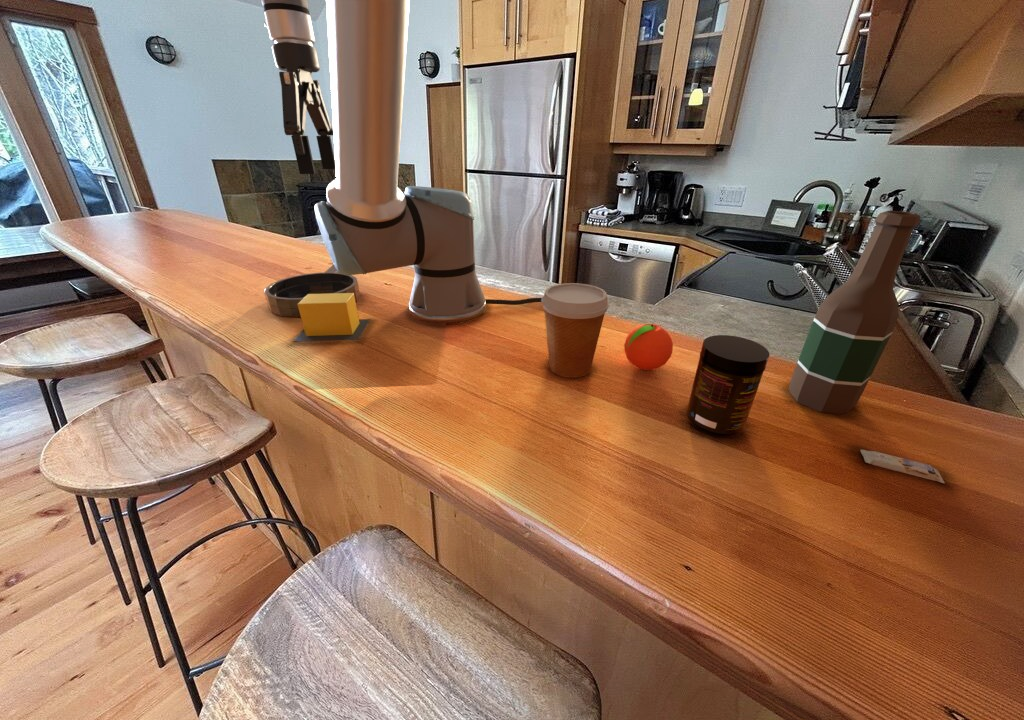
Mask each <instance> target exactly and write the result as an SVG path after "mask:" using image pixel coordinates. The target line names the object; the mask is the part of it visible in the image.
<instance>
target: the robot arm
mask: <svg viewBox="0 0 1024 720" xmlns="http://www.w3.org/2000/svg"><path fill="white" fill-rule="evenodd" d="M410 1H411V0H325V5H326V24H327V40H328V41H327V42H328V59H329V73H330V90H331V91H330V92H331V93H330V94H331V109H332V111H331V112H332V123H331V120H330V116H329V113H328V110H327V107H326V104H325V99H324V98H323V94H322V90H321V85H320V82H319V81H320V80H318V79H313V76H312V74H313V73H318V72H319V71H320V69H321V67H320V61H319V57H318V51H317V49H316V47H315V46H314V45H315V44H316V39H315V33H314V28H313V24H312V17H311V14H310V9H309V2H308V0H261V4H262V8H263V13H264V14H263V15H264V17H265V21H264V22H263V24H264V27H265V28H266V29H267V30H268V35H269V39H270V40H271V41H272V43H273V42H274V43H273V44H272V46H271V50H272V55H273V59H274V63H275V67H276V68H277V69H278V70H279V72H278V73H279V75H278V76H279V81H280V86H281V104H282V105H281V106H282V122H283V132H284V134H285V135H286V136H291V141H292V145H293V150H294V154H295V158H296V163H297V167H298V171H299V175H315V174H317V173H316V168H315V164H314V158H313V154H312V149H311V145H310V140H309V136H308V135H306V125H307V124H306V121H307V114H308V115H309V118H310V119H311V122H312V124H313V126H314V128H315V131H316V133H317V135H315V136H316V141H317V146H318V151H319V152H318V153H319V156H320V161H321V166H322V170H335V177H336V178H334V179H332V180H331V181H330V182H329V183H328V185H327V187H326V194H325V195H326V196H325V197H326V201H324V200H321V201H319V202H317V203H315V204H314V214H315V219H316V222H317V226H318V228H319V231H320V234H321V238H322V240H323V244H324V245H325V248H326V251H327V253H328V255H329V258H330V260H331V262H332V265H333V264H334V266H335V268H336V269H337V270H338V271H339V272H340V273H342V274H344V275H352V276H355V275H367V274H371V273H376V272H381V271H387V270H393V269H398V268H403V267H404V268H405V267H409V266H410V267H412V266H413V269H414V279H413V283H412V288H411V292H410V297H409V301H408V308H409V314H410V316H411V317H412V318H414V319H416V320H418V321H421V322H424V323H428V324H439V325H441V324H444V325H446V326H447V325H458V324H464V323H468V322H471V321H474V320H476V319H479V318H480V317H481V316H483V315H484V314H485V312H487V311H486V310H487V305H503V306H504V305H505V306H520V305H525V304H532V303H542V302H541V299H542V297H529V298H522V299H500V298H499V299H495V298H494V299H493V298H492V299H491V298H486V297H485V295H484V291H483V289H482V286H481V283H480V281H479V278H478V275H477V272H476V254H475V229H474V227H475V226H474V220H475V216H474V210H473V202H472V199H471V196H469V194H468V193H467V192H464V191H460V190H455V189H449V188H448V189H447V188H440V187H432V186H431V187H430V186H419V185H408V186H406V187H405V189H404V192H403V191H402V190H401V188H399V187H398V185H399V183H398V182H399V166H400V155H401V154H400V153H401V152H400V151H401V136H402V122H403V121H402V120H403V106H404V93H405V78H406V77H405V76H406V61H407V46H408V33H409V32H408V31H409V19H410V17H409V15H410ZM331 136H333V142H332V138H331ZM332 143H333V144H334V148H333V144H332Z"/></svg>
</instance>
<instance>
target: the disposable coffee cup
mask: <svg viewBox="0 0 1024 720" xmlns="http://www.w3.org/2000/svg"><path fill="white" fill-rule="evenodd" d="M607 293H608V292H606V291H605V289H604V288H603V289H602V288H601V287H599V286H595V285H592V284H587V283H578V282H576V283H575V282H567V283H558V284H554V285H551V286H549V287H547V288H546V289H545V290H544V294H543V296H541V298H542V299H541V302H540V303H541V305H542V308H543V309H544V318H545V328H546V329H545V330H546V343H547V353H548V364H549V367H548V368H549V370H550V371H551V372H552V373H554V374H555V375H557V376H560V377H563V378H571V379H572V378H573V379H574V378H575V379H576V378H582V377H584V376H587V375H588V374H589V373H590V372H591V370H592V366H593V362H594V357H595V353H596V349H597V346H598V342H599V339H600V334H601V330H602V326H603V322H604V319H605V318H604V317H605V314H606V312H607V311H608V309H609V308H610V301H609V300H608V294H607Z"/></svg>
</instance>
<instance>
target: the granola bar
mask: <svg viewBox="0 0 1024 720" xmlns="http://www.w3.org/2000/svg"><path fill="white" fill-rule="evenodd" d="M859 452H860V453H861V455H862V457H863V460H864V462H865V463H867V464H869V465H873V466H876V467H880V468H884V469H888V470H891V471H895V472H899V473H904V474H907V475H911V476H915V477H919V478H923V479H926V480H931V481H935V482H937V483H941V484H946V482H945V481H944V479H943V478H942V475H941V473H940V472H939V470H938V469H937V468H934V467H933V465H930V464H927V463H924V462H923V463H922V462H919V461H915V460H910V459H907V458H904V457H899V456H895V455H891V454H887V453H883V452H879V451H875V450H865V449H861V448H860V451H859Z"/></svg>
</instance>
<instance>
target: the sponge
mask: <svg viewBox="0 0 1024 720" xmlns="http://www.w3.org/2000/svg"><path fill="white" fill-rule="evenodd" d="M298 308H299V312H300V315H301V317H300V320H301V322H302V327H303V329H304V330H305V334H306V336H325V335H353V333H354V332H355V330H356V328H357V327H358V325H359V320H360V318H359V312H358V308H357V303H356V302H355V297H354V293H329V294H308V295H307V296H305V297H304V298H303V299H302V300H301V301H300V302H299V303H298Z"/></svg>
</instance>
